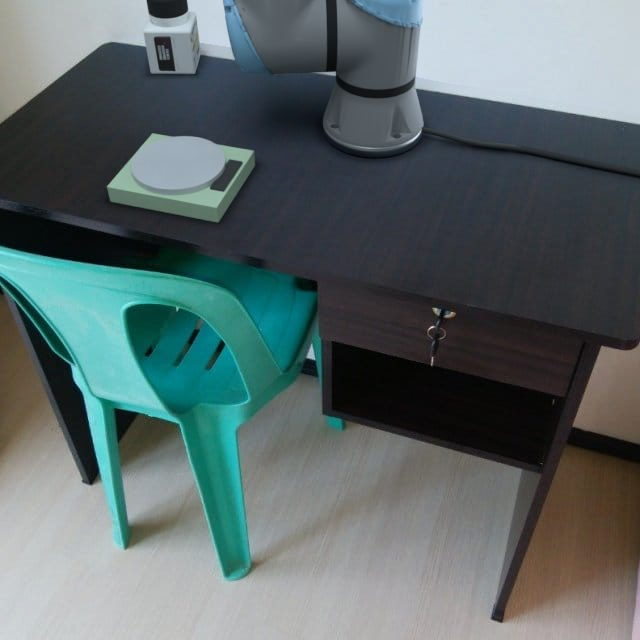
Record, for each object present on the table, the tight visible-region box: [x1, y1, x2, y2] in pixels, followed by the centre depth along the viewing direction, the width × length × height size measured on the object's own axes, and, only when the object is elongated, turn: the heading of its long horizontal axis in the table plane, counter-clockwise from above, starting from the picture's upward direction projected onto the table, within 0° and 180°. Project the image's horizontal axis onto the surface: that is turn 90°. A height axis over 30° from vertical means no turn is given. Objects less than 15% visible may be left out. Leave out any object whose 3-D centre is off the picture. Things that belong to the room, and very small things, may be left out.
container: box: [143, 0, 202, 75], centre depth 126 cm, size 8×8×13 cm
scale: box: [106, 132, 256, 223], centre depth 105 cm, size 16×14×4 cm
